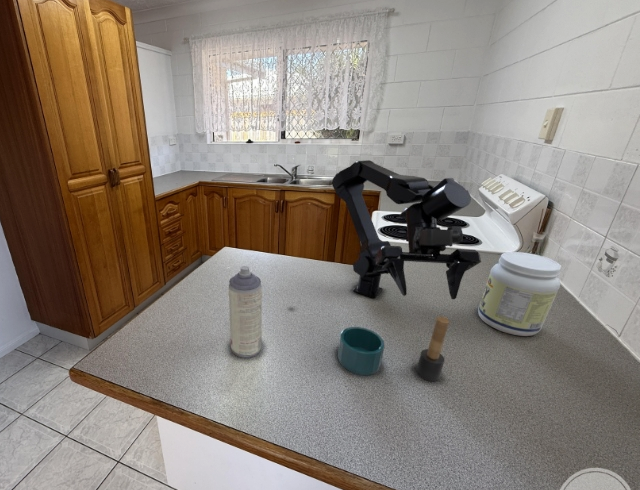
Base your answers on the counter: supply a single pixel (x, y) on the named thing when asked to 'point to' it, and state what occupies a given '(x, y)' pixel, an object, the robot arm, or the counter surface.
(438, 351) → the brush
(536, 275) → the supplement tub
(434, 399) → the counter surface
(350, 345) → the teal cup
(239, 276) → the aerosol can
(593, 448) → the counter surface
